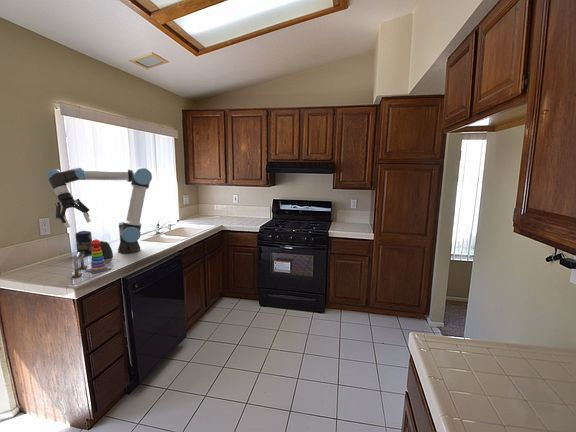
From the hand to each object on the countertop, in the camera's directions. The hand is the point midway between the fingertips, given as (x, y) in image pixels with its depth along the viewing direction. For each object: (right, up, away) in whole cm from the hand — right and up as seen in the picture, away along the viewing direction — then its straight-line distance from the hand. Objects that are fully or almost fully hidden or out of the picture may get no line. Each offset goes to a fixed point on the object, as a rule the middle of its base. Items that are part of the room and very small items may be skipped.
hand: (79, 224), depth 186 cm
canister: (-15, -23, +28) cm, 39 cm away
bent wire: (+7, -29, -8) cm, 31 cm away
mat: (+15, -28, -5) cm, 33 cm away
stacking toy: (+15, -27, -4) cm, 32 cm away
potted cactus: (+10, -26, +11) cm, 30 cm away
